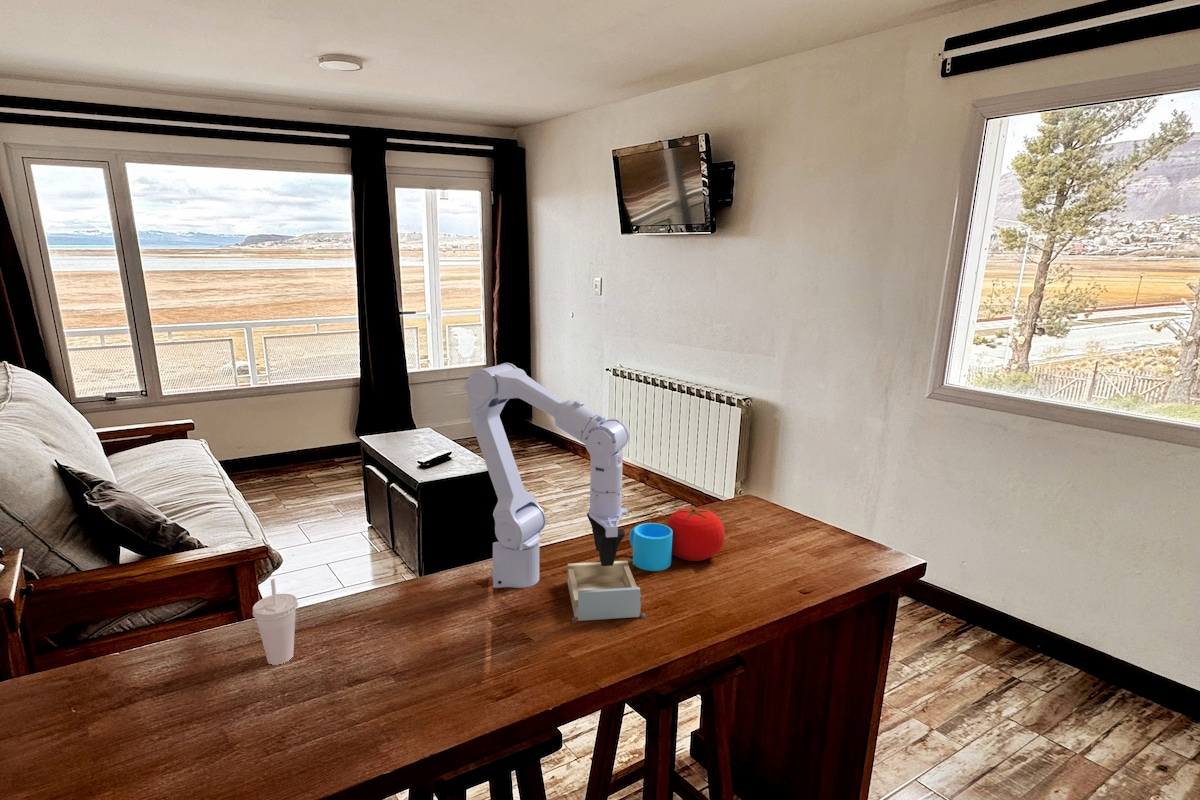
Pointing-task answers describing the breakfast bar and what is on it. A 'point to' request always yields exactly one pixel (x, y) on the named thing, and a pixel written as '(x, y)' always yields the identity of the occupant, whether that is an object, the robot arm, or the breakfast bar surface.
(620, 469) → the robot arm
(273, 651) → the smoothie
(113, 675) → the breakfast bar surface
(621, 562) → the box
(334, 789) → the breakfast bar surface
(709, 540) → the tomato
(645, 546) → the mug
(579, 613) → the panel
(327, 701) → the breakfast bar surface
